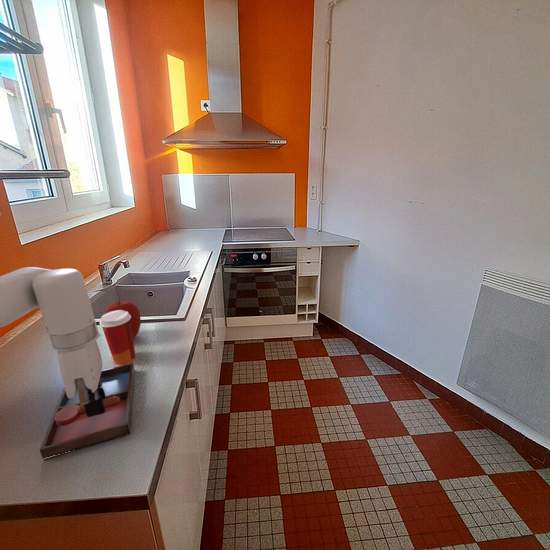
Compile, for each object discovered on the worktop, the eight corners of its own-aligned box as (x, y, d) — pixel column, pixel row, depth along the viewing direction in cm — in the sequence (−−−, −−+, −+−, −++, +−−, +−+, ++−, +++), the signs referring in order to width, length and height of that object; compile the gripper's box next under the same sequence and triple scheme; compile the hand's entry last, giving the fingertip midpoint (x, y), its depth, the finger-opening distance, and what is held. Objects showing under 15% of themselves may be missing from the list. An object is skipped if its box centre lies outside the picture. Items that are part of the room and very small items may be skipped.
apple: (151, 333, 99) (143, 295, 94) (125, 350, 90) (115, 308, 86) (129, 327, 103) (120, 290, 98) (102, 342, 95) (92, 302, 90)
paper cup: (127, 348, 91) (117, 307, 86) (145, 354, 88) (136, 312, 83) (103, 363, 85) (91, 319, 80) (122, 370, 81) (110, 325, 76)
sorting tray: (43, 460, 57) (39, 450, 56) (70, 386, 76) (67, 377, 75) (130, 434, 62) (127, 424, 61) (135, 371, 81) (133, 362, 80)
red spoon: (121, 396, 67) (119, 389, 66) (120, 410, 63) (118, 402, 62) (59, 412, 63) (56, 405, 62) (53, 428, 59) (50, 420, 58)
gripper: (62, 319, 63) (84, 390, 69) (37, 362, 49) (68, 446, 55) (102, 312, 65) (120, 381, 72) (89, 351, 51) (113, 432, 58)
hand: (97, 408), depth 63 cm, fingers closed on red spoon, 2 cm apart
